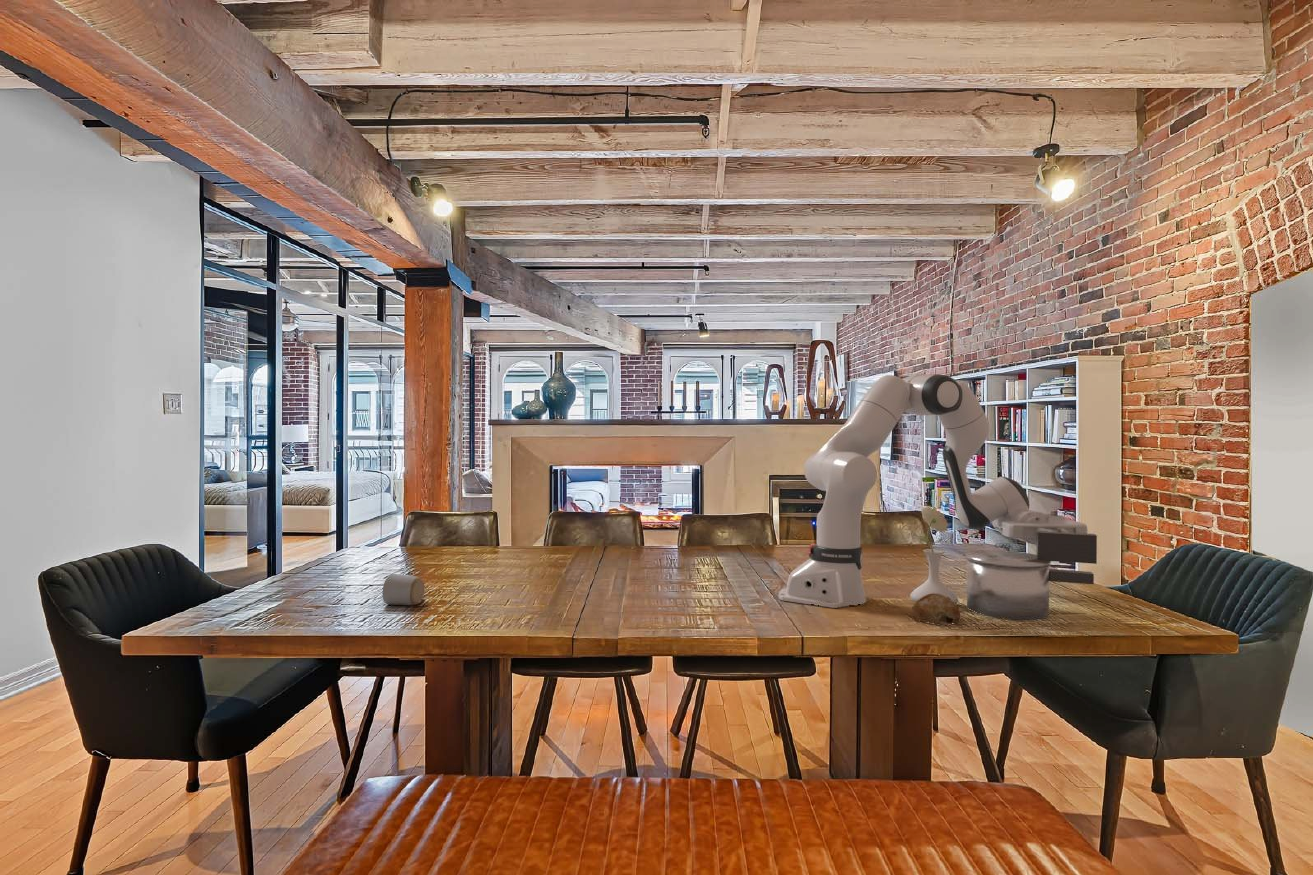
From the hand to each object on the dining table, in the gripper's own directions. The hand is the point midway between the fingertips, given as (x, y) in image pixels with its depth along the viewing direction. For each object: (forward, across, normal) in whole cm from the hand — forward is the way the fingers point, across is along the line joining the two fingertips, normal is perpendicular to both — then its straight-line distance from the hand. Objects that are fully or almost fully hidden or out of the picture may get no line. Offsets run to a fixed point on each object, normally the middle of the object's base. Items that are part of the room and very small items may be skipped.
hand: (1059, 534), depth 169 cm
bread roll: (+13, -36, +19) cm, 42 cm away
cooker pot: (+5, -11, +18) cm, 22 cm away
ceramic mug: (+3, -166, +19) cm, 167 cm away
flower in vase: (-2, -31, +19) cm, 36 cm away
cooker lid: (+6, -11, +6) cm, 13 cm away
